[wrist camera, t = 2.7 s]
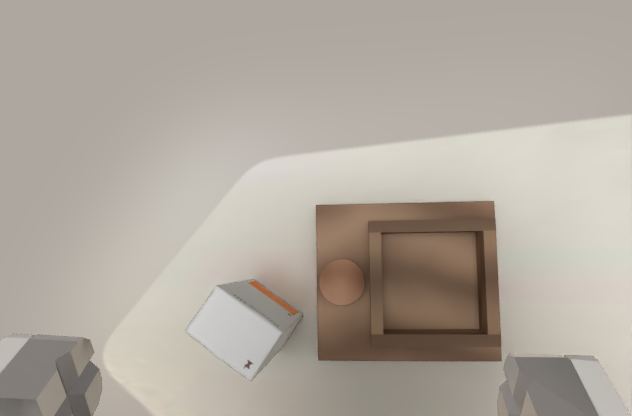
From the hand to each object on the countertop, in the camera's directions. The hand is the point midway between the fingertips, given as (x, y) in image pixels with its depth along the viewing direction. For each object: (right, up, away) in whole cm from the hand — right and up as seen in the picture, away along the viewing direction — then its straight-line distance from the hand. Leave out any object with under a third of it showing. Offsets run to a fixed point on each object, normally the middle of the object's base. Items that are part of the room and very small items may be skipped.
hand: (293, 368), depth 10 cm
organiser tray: (+9, -4, +36) cm, 37 cm away
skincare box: (-4, -7, +37) cm, 38 cm away
